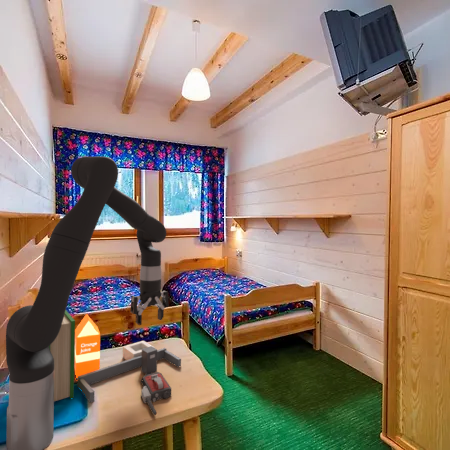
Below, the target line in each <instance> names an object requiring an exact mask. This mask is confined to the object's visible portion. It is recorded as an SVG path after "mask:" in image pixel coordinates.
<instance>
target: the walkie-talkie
mask: <svg viewBox="0 0 450 450" xmlns="http://www.w3.org/2000/svg"><path fill="white" fill-rule="evenodd" d="M140 383H141V385H142V386H143V387H142V389H141V398H142V402H143V403H144V404H147V405H148V407H149V410H151V413H152V415H154V416H156V415H157V413H158V412H157V411H156V409H155V407H154V405H153V403H155V402H157V401H158V400H163V399H165V400H166V399H168V398H170V397H171V396H172V387H171V386H170V384H169V382H168V381H167V380H166V378H165V377H164V375H163V374H162V373H161V372H158V371H156V372H154V373H151V374H148V375H146V374H145V375H144V376H143V377H142V378H140Z"/></svg>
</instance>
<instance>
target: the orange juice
mask: <svg viewBox="0 0 450 450" xmlns="http://www.w3.org/2000/svg"><path fill="white" fill-rule="evenodd" d="M100 359H101V333H100V330H99V327H98V325H97V324H96V323H95V322H94V321H93V319H92V318H90V316H89V315H88V313H86V314H85V315H84V317H83V318H82V319H81V321H80V323H78V325H77V326H76V327H75V354H74V376H75V375H76V378H78V376H80V375H83V374H86V373H89V372H93V371H96V370H99V369H101V368H100V367H101V365H100V362H101V360H100ZM76 378H75V379H76Z"/></svg>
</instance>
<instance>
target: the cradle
mask: <svg viewBox="0 0 450 450" xmlns="http://www.w3.org/2000/svg"><path fill="white" fill-rule="evenodd" d="M163 359H164V360H165V361H167V360H168V361H167V362H168V363H170V362H171V363H170V364H172V363H173V364H175V365H176V366H178V367H179V366H181V367H182V358H180V356H177V355H176V354H174V353H173V352H170V351H169V350H167V348H166V347H163V348H160V349H157V362H158V361H159V360H160V361H161V360H163ZM141 363H142V355H141V356H138V357H135V358H132V359H129V360H123V361H120V362H117V363H114V364H111V365H108V366H105V367H102V368H100V369H99V370H96V371H93V372H89V373H86V374H83V375H80V376H78V380H77V388H78V387H79V388H80V389H81V390H82V392H83V393H84V394H85V396H86V397H85V396H84V397H85V398H86V399H87V401H88V402H89V403H91V404H92V403H94V402H95V390H94V389H93V388H92V387H91V386H90V385H92V384H95V383H98V382H101V381H105V380H106V379H110V378H112V377H115V376H118V375H120V374H123V373H127V372H129V371H132V370H134V369H138V368H141ZM173 364H172V365H173ZM175 365H174V366H175ZM176 366H175V367H176ZM178 367H177V368H178ZM179 368H180V367H179ZM79 388H78V389H79ZM80 389H79V390H80ZM82 392H81V393H82ZM83 393H82V394H83ZM84 394H83V395H84Z"/></svg>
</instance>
